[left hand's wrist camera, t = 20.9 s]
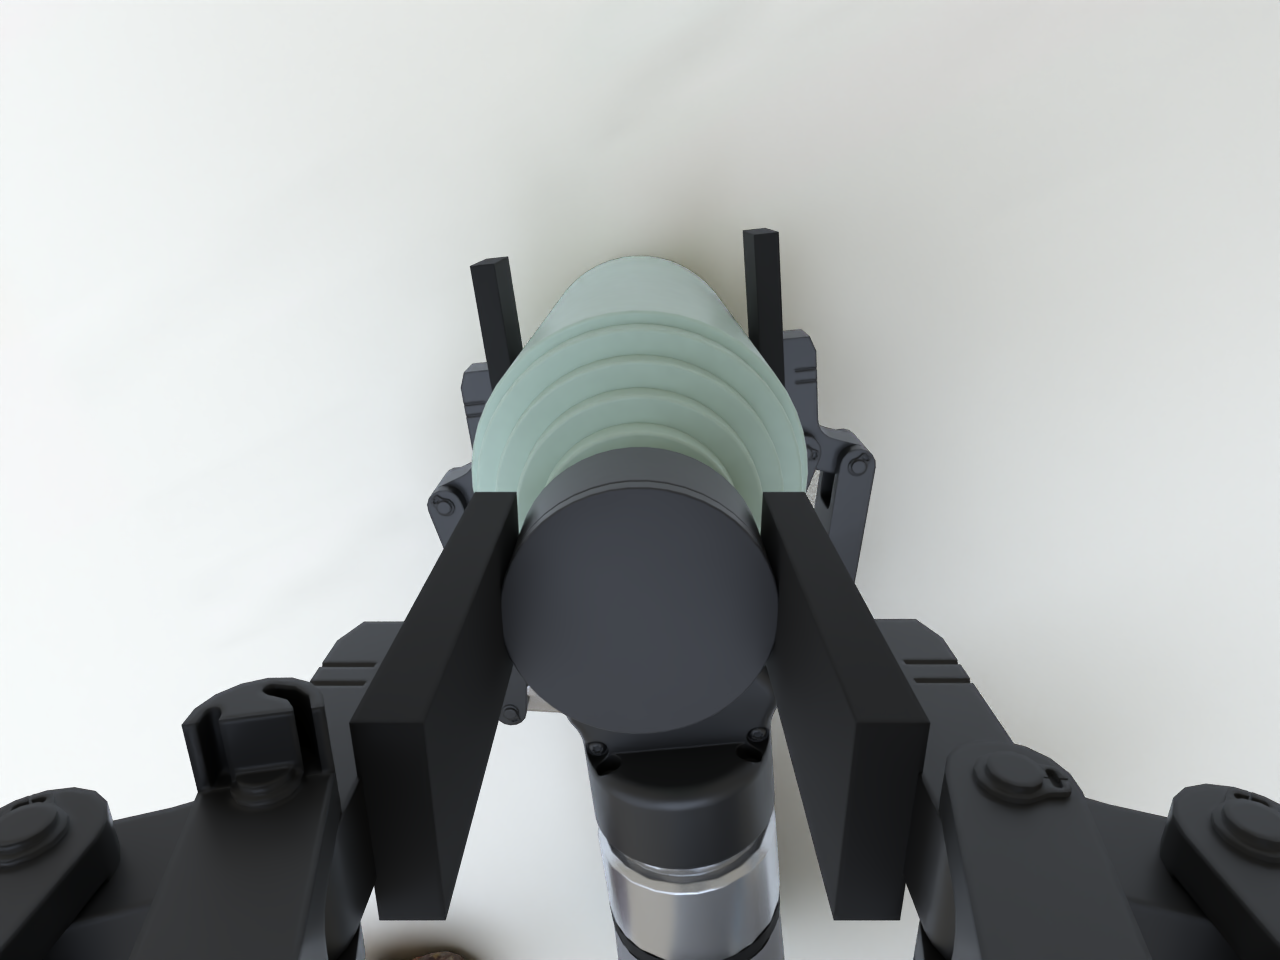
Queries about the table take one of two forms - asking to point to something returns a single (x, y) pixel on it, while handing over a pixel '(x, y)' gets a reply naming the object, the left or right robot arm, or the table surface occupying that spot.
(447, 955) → the rock
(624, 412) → the bottle
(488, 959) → the table surface
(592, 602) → the cap
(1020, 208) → the table surface
